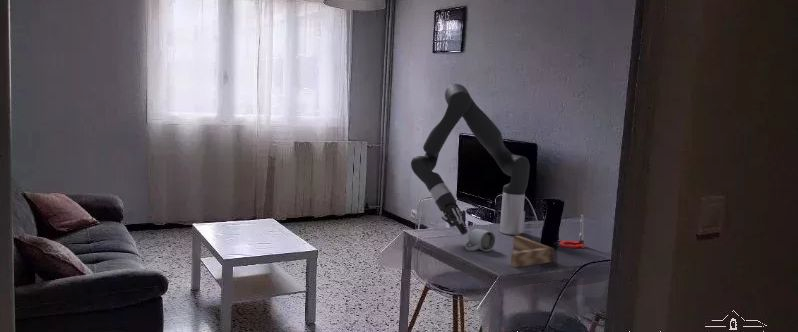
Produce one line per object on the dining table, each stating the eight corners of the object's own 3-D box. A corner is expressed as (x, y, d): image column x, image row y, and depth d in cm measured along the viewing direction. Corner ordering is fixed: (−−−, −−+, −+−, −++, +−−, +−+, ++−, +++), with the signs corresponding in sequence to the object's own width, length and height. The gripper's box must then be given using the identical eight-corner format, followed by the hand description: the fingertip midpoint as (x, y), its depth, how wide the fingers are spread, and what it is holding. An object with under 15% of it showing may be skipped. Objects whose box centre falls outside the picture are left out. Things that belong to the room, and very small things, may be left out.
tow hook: (561, 248, 238) (585, 249, 238) (563, 216, 237) (587, 217, 236) (557, 243, 247) (580, 243, 246) (558, 212, 245) (581, 212, 245)
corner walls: (516, 247, 234) (518, 235, 233) (552, 261, 218) (554, 248, 217) (479, 252, 224) (480, 239, 223) (514, 267, 208) (515, 253, 207)
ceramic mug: (480, 244, 235) (481, 225, 234) (495, 250, 229) (496, 230, 228) (459, 248, 229) (460, 228, 228) (474, 254, 223) (475, 233, 222)
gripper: (447, 200, 248) (469, 236, 241) (426, 204, 238) (448, 241, 232) (458, 190, 244) (481, 226, 237) (437, 193, 234) (460, 230, 227)
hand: (465, 233), depth 234 cm, fingers closed
